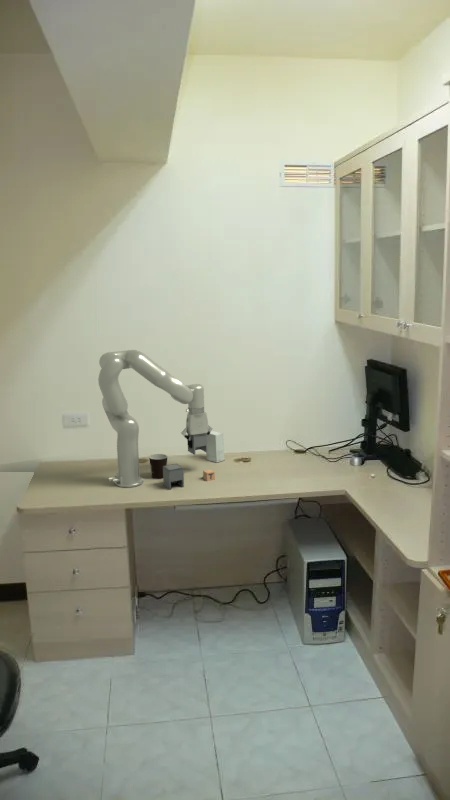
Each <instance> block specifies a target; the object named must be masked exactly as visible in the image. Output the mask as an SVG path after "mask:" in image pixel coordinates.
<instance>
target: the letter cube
mask: <svg viewBox="0 0 450 800" xmlns="http://www.w3.org/2000/svg"><path fill="white" fill-rule="evenodd" d="M215 477H216V472H215V470H213V469H211V468H209V469H204V470H202V478H203V480H204V481H206V482H209V481H211V482H212V481H214V480H215V479H216V478H215Z"/></svg>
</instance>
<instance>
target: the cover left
mask: <svg viewBox="0 0 450 800" xmlns="http://www.w3.org/2000/svg"><path fill="white" fill-rule="evenodd" d="M184 471H185V469H184V467H183V466H181V465H180V464H178V463H173V464H167V465H166V466H163V479H162V481H163V486H164V487H165V488H167V489H168V490H170V491H171V490H172V485H174V484H177V485H179V486H181V487H182V488H184V487H185V481H184V480H185V475H184Z"/></svg>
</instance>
